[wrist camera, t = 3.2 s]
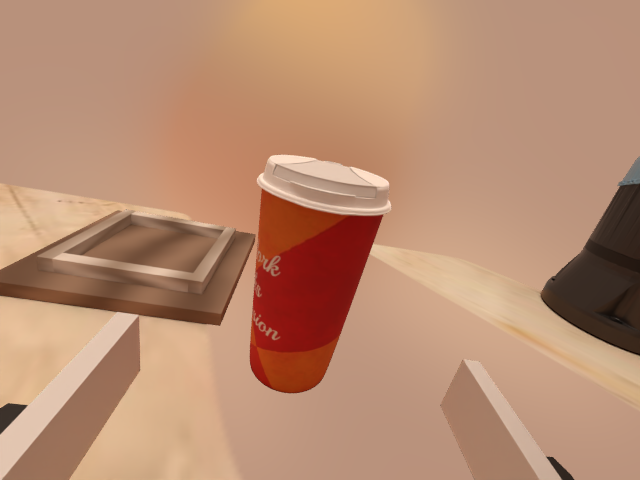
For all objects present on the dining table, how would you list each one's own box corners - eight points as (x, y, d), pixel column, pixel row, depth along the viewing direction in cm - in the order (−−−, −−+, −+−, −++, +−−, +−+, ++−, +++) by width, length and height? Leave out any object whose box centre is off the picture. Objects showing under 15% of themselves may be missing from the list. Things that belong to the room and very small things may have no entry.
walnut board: (254, 242, 42) (256, 225, 41) (219, 325, 26) (222, 300, 25) (118, 219, 40) (117, 200, 39) (-16, 292, 24) (-23, 264, 23)
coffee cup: (253, 317, 28) (278, 148, 22) (342, 338, 27) (390, 173, 22) (213, 393, 20) (237, 161, 14) (337, 424, 20) (409, 200, 14)
